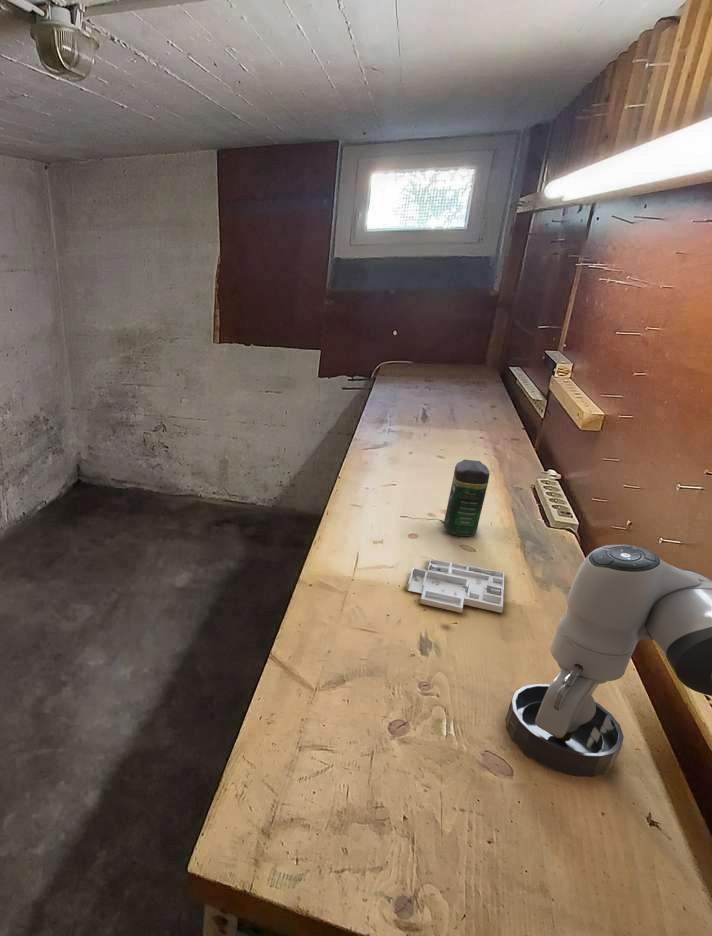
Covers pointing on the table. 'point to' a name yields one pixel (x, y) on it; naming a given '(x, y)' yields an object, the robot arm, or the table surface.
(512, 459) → the table surface
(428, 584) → the floor plan model
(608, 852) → the table surface
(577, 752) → the bowl
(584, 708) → the light bulb
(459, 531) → the coffee jar
